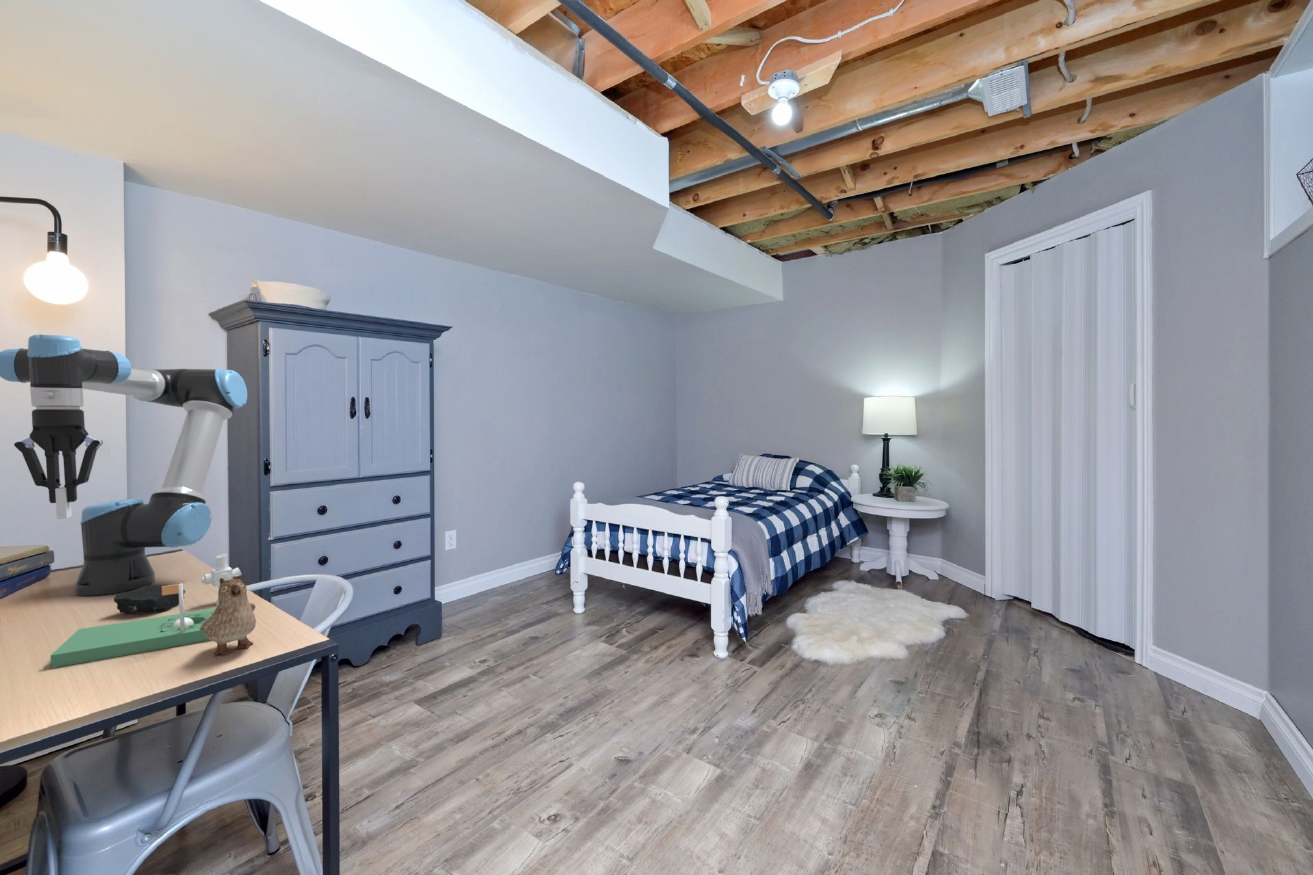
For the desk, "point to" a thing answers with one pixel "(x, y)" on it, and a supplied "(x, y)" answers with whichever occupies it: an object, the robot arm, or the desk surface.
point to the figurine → (231, 616)
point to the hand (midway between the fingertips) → (64, 517)
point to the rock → (146, 600)
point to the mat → (133, 635)
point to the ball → (187, 622)
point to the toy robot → (220, 573)
